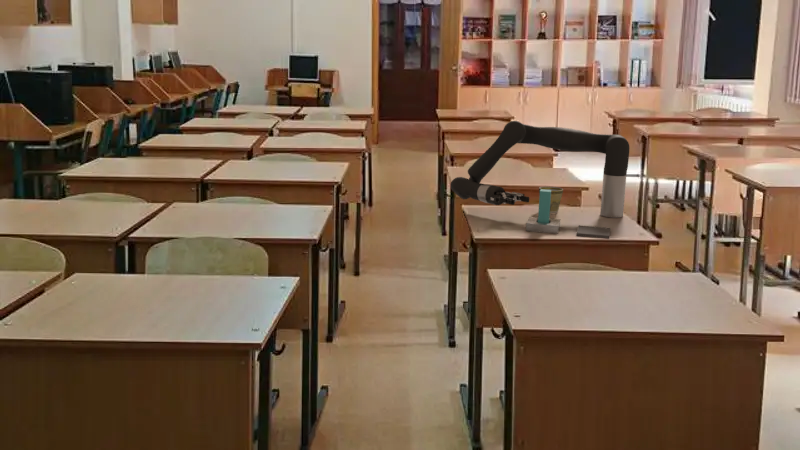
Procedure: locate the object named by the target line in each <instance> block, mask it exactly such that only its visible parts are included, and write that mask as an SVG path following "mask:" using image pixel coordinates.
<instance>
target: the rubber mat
mask: <svg viewBox="0 0 800 450" xmlns="http://www.w3.org/2000/svg"><path fill="white" fill-rule="evenodd" d="M610 235H611V227H606V226H605V227H604V226H592V225H591V226H590V225H578V227H577V231H576V237H587V238H588V237H589V238H601V239H610Z"/></svg>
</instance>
